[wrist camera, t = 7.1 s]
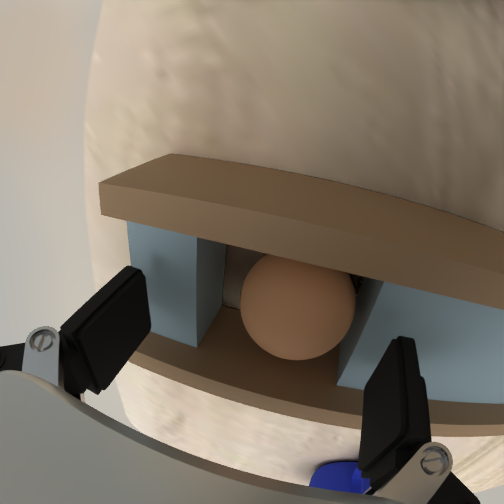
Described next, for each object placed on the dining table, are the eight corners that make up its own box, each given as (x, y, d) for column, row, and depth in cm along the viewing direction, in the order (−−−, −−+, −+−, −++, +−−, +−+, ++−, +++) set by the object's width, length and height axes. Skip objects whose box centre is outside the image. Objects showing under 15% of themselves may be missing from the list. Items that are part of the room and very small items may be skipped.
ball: (263, 216, 14) (367, 240, 13) (252, 299, 16) (339, 321, 15) (227, 269, 10) (375, 305, 9) (220, 364, 12) (332, 394, 11)
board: (592, 272, 9) (629, 319, 4) (526, 377, 13) (542, 430, 9) (169, 153, 13) (98, 182, 9) (172, 305, 18) (129, 361, 14)
